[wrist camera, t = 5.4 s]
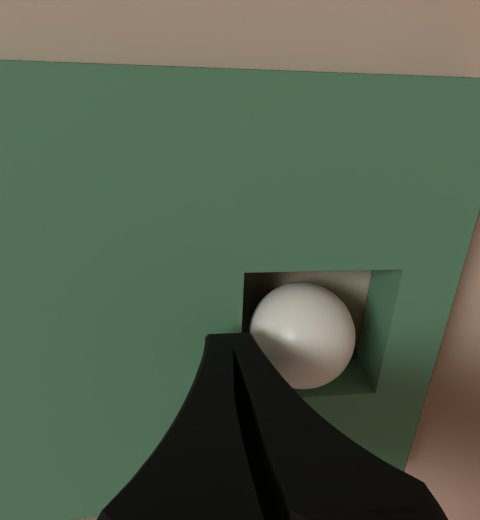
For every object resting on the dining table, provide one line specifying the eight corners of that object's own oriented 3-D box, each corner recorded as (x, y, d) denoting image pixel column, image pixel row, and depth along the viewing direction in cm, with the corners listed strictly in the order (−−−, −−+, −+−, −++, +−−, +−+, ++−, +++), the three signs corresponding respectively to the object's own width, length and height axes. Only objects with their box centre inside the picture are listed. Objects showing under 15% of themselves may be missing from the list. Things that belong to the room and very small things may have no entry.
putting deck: (-61, 484, 17) (-90, 533, 15) (-231, 51, 11) (-317, 48, 9) (379, 451, 20) (398, 491, 18) (470, 77, 13) (517, 79, 11)
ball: (356, 360, 16) (269, 331, 17) (373, 279, 14) (275, 255, 15) (331, 429, 13) (229, 389, 14) (349, 338, 11) (232, 302, 12)
